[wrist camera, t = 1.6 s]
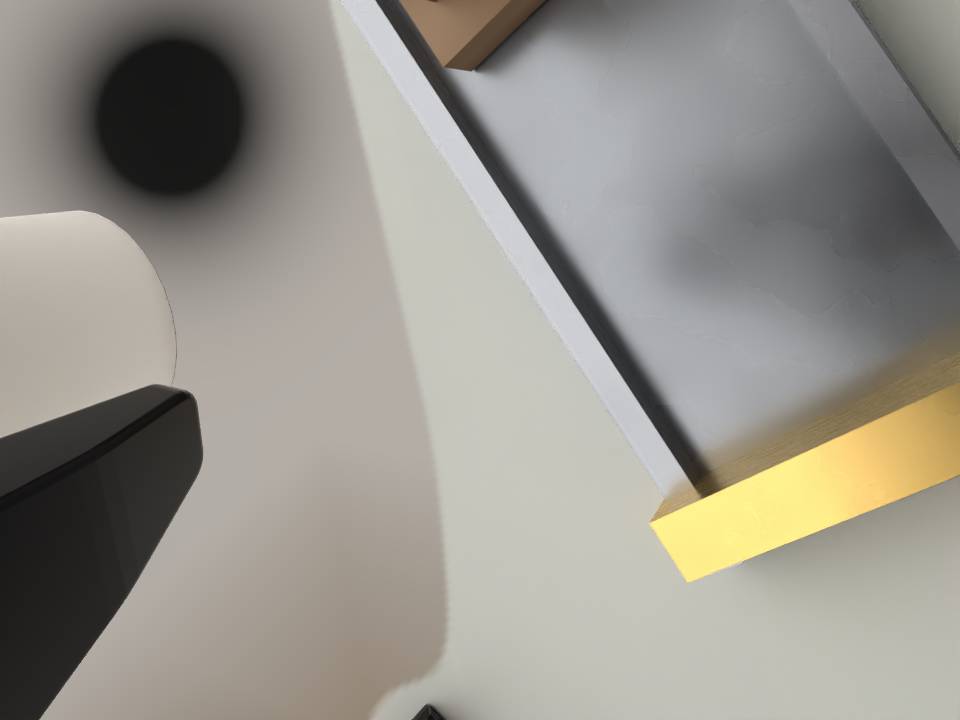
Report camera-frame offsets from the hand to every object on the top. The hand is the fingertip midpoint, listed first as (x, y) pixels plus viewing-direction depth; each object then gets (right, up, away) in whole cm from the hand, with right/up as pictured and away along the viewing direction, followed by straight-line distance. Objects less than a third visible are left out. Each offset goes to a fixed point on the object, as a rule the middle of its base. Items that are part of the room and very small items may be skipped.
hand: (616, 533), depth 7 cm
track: (+2, +8, +10) cm, 13 cm away
